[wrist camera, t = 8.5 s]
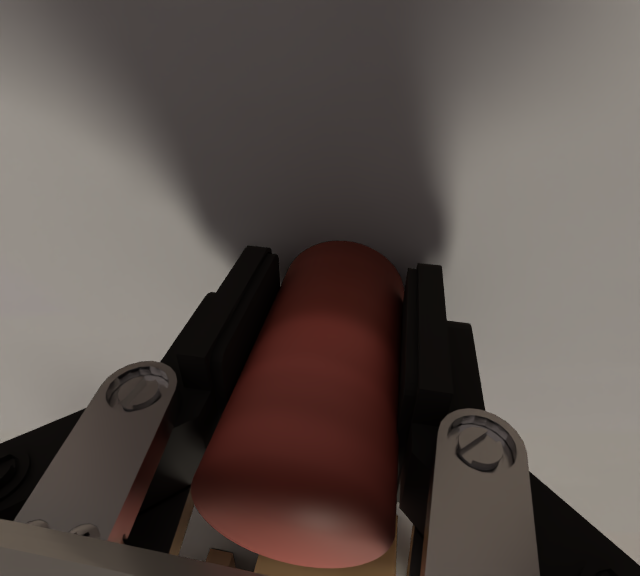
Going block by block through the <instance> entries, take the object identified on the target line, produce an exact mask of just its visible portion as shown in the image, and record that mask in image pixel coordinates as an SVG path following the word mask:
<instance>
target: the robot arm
mask: <svg viewBox="0 0 640 576" xmlns="http://www.w3.org/2000/svg"><path fill="white" fill-rule="evenodd" d="M279 289H280V274H279V257H278V255H277V254H272V251H271V249H270V248H267V247H257V246H247V247H246V248H245V250H244V251H243V253H242V254H241V256H240V257H239V259H238V260H237V262H236V263H235V265H234V266H233V268H232V269H231V271H230V272H229V274H228V275H227V277H226V278H225V280H224V281H223V283H222V284H221V286H220V287H219V289H218V291H217V292H216V293H215V292H211V293H208V294H207V295H206V296H205V298H204V299H203V301H202V302H201V303H200V305H199V306H198V308H197V309H196V311H195V312H194V314H193V315H192V317H191V318H190V319H189V321H188V322H187V324H186V325H185V327H184V328H183V330H182V331H181V333H180V334H179V335H178V337H177V338H176V340H175V341H174V343H173V344H172V346H171V347H170V349H169V350H168V351H167V353H166V354H165V356H164V357H163V359H162V360H161V362H156V361H142V362H137V363H133V364H129V365H127V366H125V367H123V368H121V369H119V370H117V371H116V372H114V373H113V374H112V375H110V376H109V377H108V378H107V379H106V380H105V381H104V382H103V384H102V385H101V386H100V388H99V389H98V391H97V392H96V394H95V395H94V397H93V398H92V400H91V402H90V403H89V405H88V406H87V408H85V409H83V410H80V411H78V412H76V413H73V414H71V415H68V416H66V417H64V418H61V419H59V420H56V421H54V422H51V423H49V424H47V425H44V426H42V427H39V428H37V429H35V430H32V431H30V432H27V433H25V434H23V435H20V436H18V437H15V438H13V439H10V440H8V441H6V442H3V443H1V444H0V576H269V575H264V574H260V573H255V572H251V571H246V570H241V569H237V568H232V567H227V566H223V565H218V564H213V563H209V562H204V561H199V560H195V559H190V558H185V557H181V556H178V555H179V552H180V549H181V545H182V542H183V539H184V536H185V533H186V530H187V526H188V523H189V520H190V517H191V514H192V510H193V507H194V502H193V500H192V495H191V483H192V480H193V477H194V475H195V473H196V471H197V468H198V466H199V464H200V462H201V460H202V457H203V455H204V453H205V451H206V449H207V446H208V444H209V442H210V440H211V438H212V436H213V433H214V431H215V429H216V427H217V425H218V422H219V420H220V418H221V416H222V414H223V411H224V409H225V407H226V405H227V403H228V400H229V398H230V396H231V394H232V392H233V390H234V387H235V385H236V383H237V381H238V379H239V376H240V374H241V372H242V370H243V368H244V365H245V363H246V361H247V359H248V357H249V354H250V352H251V350H252V348H253V346H254V344H255V341H256V339H257V337H258V335H259V333H260V330H261V328H262V326H263V324H264V322H265V319H266V317H267V315H268V313H269V311H270V308H271V306H272V304H273V302H274V300H275V298H276V295H277V293H278V291H279ZM397 432H398V438H399V451H398V477H397V502H399V503H400V505H399V508H400V509H401V510H402V511H403V512H404V514H405V515H406V516H407V517H408V518H409V520H410V521H411V522H412V523H413V526H412V535H411V543H410V551H409V559H408V567H407V575H406V576H640V566H639V565H638V564H637V563H636V562H635V561H634V560H632V559H631V558H630V557H629V556H628V555H627V554H625V553H624V552H623V551H622V550H621V549H620V548H618V547H617V546H616V545H615V544H614V543H613V542H611V541H610V540H609V539H608V538H607V537H606V536H604V535H603V534H602V533H601V532H600V531H598V530H597V529H596V528H595V527H594V526H593V525H591V524H590V523H589V522H588V521H587V520H586V519H584V518H583V517H582V516H581V515H580V514H579V513H577V512H576V511H575V510H574V509H573V508H572V507H570V506H569V505H568V504H567V503H566V502H565V501H563V500H562V499H561V498H560V497H559V496H558V495H556V494H555V493H554V492H553V491H552V490H550V489H549V488H548V487H547V486H546V485H545V484H543V483H542V482H541V481H540V480H539V479H538V478H536V477H535V476H534V475H533V474H532V473H531V472H529V467H528V458H527V452H526V448H525V445H524V442H523V440H522V439H521V437H520V436H519V434H518V433H517V431H516V430H515V429H514V428H513V427H512V426H511V425H510V424H509V423H507V422H506V421H505V420H503V419H501V418H500V417H498V416H496V415H495V414H492V413H489V412H487V411H485V407H484V400H483V394H482V388H481V382H480V376H479V370H478V363H477V357H476V351H475V345H474V339H473V333H472V328H471V325H470V324H469V323H462V322H454V321H447V319H446V308H445V297H444V286H443V274H442V266H440V265H431V264H421V263H418V265H417V269H412V268H408V272H407V278H406V285H405V291H404V298H403V308H402V330H401V353H400V375H399V397H398V420H397Z"/></svg>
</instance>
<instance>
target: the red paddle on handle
mask: <svg viewBox="0 0 640 576" xmlns="http://www.w3.org/2000/svg"><path fill="white" fill-rule="evenodd" d="M403 298H404V286H403V283H402V280H401V277H400V275H399V273H398V272H397V270H396V268H395V267H394V266H393V265H392V263H391V262H390V261H389V260H388V259H387V258H385V257H384V256H383V255H382V254H380V253H379V252H377V251H375V250H374V249H372V248H370V247H367V246H365V245H362V244H359V243H355V242H349V241H328V242H324V243H320V244H317V245H314V246H312V247H310V248H308V249H306V250H305V251H303V252H302V253H301V254H300V255H298V256H297V257H296V258H295V260H294V261H293V262H292V264H291V265H290V267H289V269H288V271H287V273H286V276H285V278H284V280H283V282H282V284H281V287H280V289H279V291H278V293H277V295H276V298H275V300H274V302H273V304H272V306H271V308H270V311H269V313H268V315H267V317H266V319H265V322H264V324H263V326H262V328H261V330H260V333H259V335H258V337H257V339H256V341H255V344H254V346H253V348H252V350H251V352H250V354H249V357H248V359H247V361H246V363H245V365H244V368H243V370H242V372H241V374H240V376H239V379H238V381H237V383H236V385H235V387H234V390H233V392H232V394H231V396H230V398H229V400H228V403H227V405H226V407H225V409H224V411H223V414H222V416H221V418H220V420H219V422H218V425H217V427H216V429H215V431H214V433H213V436H212V438H211V440H210V442H209V444H208V446H207V449H206V451H205V453H204V455H203V457H202V460H201V462H200V464H199V466H198V468H197V471H196V473H195V475H194V477H193V480H192V483H191V495H192V500H193V502H194V504H195V507H196V508H197V510H198V511H199V513H200V514H201V515H202V517H203V518H204V519H205V520H206V521H207V522H208V523H209V524H210V525H211V526H212V527H213V528H214V529H215V530H217V531H218V532H219V533H220V534H222V535H223V536H225V537H226V538H228V539H229V540H231V541H233V542H234V543H236V544H238V545H240V546H242V547H244V548H246V549H248V550H250V551H252V552H255V553H257V554H259V556H258V559H257V563H256V566H255V570H254V572H255V573H260V574H264V575H269V576H396V548H397V519H398V516H396V504H397V477H398V451H399V438H398V432H397V420H398V397H399V375H400V353H401V330H402V308H403Z"/></svg>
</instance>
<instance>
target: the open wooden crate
mask: <svg viewBox="0 0 640 576" xmlns="http://www.w3.org/2000/svg"><path fill="white" fill-rule="evenodd" d="M206 562H209V563H213V564H218V565H223V566H227V567H232V568H236V566H235V561H234V557H233V553H229V552H225V551H220V550H215V549H210V551H209V553H208V556H207V559H206Z"/></svg>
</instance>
